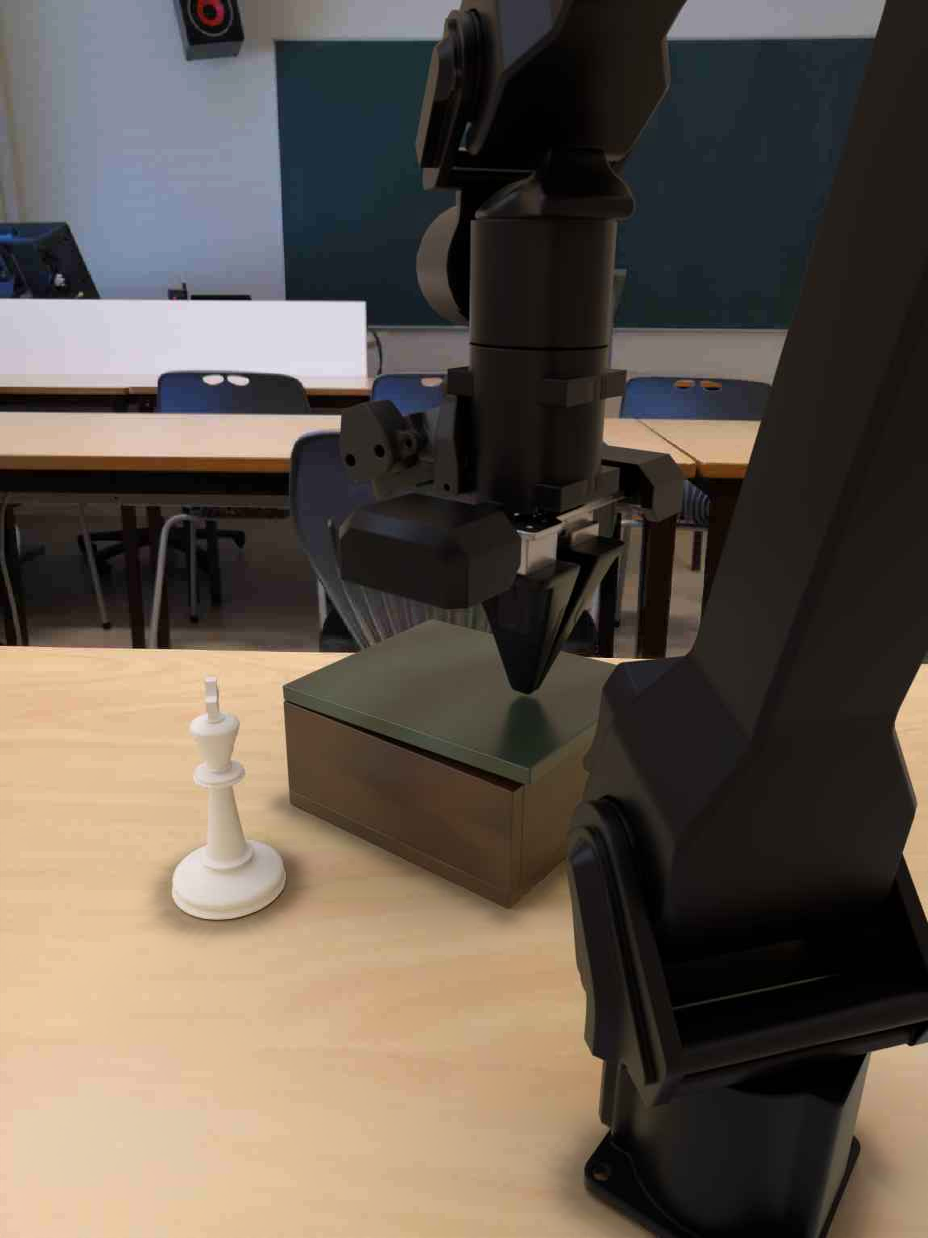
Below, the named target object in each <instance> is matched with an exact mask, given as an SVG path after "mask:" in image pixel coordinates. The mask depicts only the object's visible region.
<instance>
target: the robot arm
mask: <svg viewBox="0 0 928 1238" xmlns="http://www.w3.org/2000/svg"><path fill="white" fill-rule="evenodd" d="M884 1H885V2H884V6H883V9H882V14H881V17H880V20H879V23H878V27H877V29H876V33H875V37H874V40H873V43H872V46H871V50H870V53H869V57H868V60H867V64H866V66H865V71H864V73H863V77H862V80H861V84H860V87H859V89H858V94H857V97H856V101H855V104H854V107H853V111H852V114H851V118H850V121H849V124H848V128H847V131H846V134H845V137H844V141H843V144H842V147H841V151H840V154H839V158H838V160H837V161H838V162H837V165H836V168H835V171H834V175H833V178H832V181H831V184H830V187H829V190H828V194H827V198H826V202H825V204H824V207H823V208H824V209H823V212H822V214H821V218H820V222H819V225H818V228H817V232H816V234H815V237H814V242H813V245H812V248H811V252H810V254H809V258H808V262H807V265H806V268H805V271H804V275H803V278H802V282H801V285H800V288H799V292H798V294H797V298H796V302H795V305H794V308H793V313H792V315H791V318H790V322H789V326H788V329H787V332H786V335H785V339H784V342H783V345H782V349H781V353H780V356H779V359H778V362H777V365H776V368H775V372H774V376H773V380H772V382H771V385H770V389H769V393H768V396H767V399H766V403H765V405H764V409H763V413H762V416H761V420H760V423H759V427H758V430H757V433H756V436H755V439H754V443H753V446H752V449H751V453H750V457H749V459H748V463H747V467H746V469H745V473H744V476H743V480H742V483H741V486H740V489H739V493H738V497H737V500H736V502H735V506H734V510H733V513H732V517H731V520H730V524H729V526H728V531H727V533H726V536H725V539H724V544H723V547H722V550H721V554H720V557H719V560H718V563H717V567H716V570H715V573H714V577H713V581H712V584H711V588H710V590H709V594H708V598H707V600H706V604H705V607H704V611H703V614H702V618H701V620H700V624H699V628H698V631H697V635H696V637H695V640H694V642H693V645H692V647H691V649H690V650H689V651H688V652H687V653H686V654H685V655H680V656H669V657H659V658H653V659H652V658H649V659H639V660H629V661H622V662H618V664H616V665H617V666H616V668H615V669H614V671H613V672H612V674H611V675H610V677H609V678H608V680H607V681H606V683H605V684H604V686H603V688H602V694H601V702H600V710H599V717H598V723H597V729H596V734H595V737H594V740H593V742H592V745H591V748H590V749H589V751H588V752H587V754H586V755H585V756H584V758H583V766H584V769H585V770H586V771H588V772H589V773H590V775H589V777H588V780H587V782H586V786H585V789H584V793H583V798H582V802H580V803H579V804H578V805H577V806H576V808H575V810H574V813H573V816H572V821H571V828H570V831H569V832H568V833H567V848H568V855H567V858H566V860H565V872H566V879H567V883H568V889H569V890H568V891H569V894H570V901H571V913H572V914H571V915H572V925H573V940H574V952H575V962H576V966H577V967H576V968H577V971H578V973H579V978H580V983H581V986H582V989H583V991H584V992H585V998H586V999H585V1021H584V1032H583V1040H584V1042H585V1043H586V1046H587V1048H588V1050H589V1051H590V1054H591V1056H592V1057H595V1058H598V1059H599V1060H602V1066H601V1067H602V1068H601V1079H600V1093H599V1103H598V1117H599V1120H600V1123H601V1124H602V1125H604V1126H605V1127H606V1128H609V1130H608V1131H607V1133H606V1134H605V1135H604V1136H603V1139H602V1140H601V1141H600V1142H599V1144H598V1145H597V1147H596V1148H595V1150H594V1151H593V1153H592V1154H591V1155H590V1157H589V1158H588V1160H587V1161H586V1163H585V1165H584V1168H583V1178H582V1179H583V1185H584V1187H585V1189H586V1191H588V1193H590V1194H591V1195H592V1196H594V1197H596V1198H597V1199H599V1200H600V1201H602V1202H603V1203H605V1204H606V1205H608V1206H610V1207H611V1208H612V1209H614V1210H615V1211H617V1212H618V1213H620V1214H622V1215H623V1216H625V1217H626V1218H628V1219H629V1220H631V1221H633V1222H634V1223H635V1224H637V1225H638V1226H640V1227H642V1228H643V1229H645V1230H646V1231H648V1232H649V1233H650V1234H652V1235H654V1236H656V1237H657V1238H828V1237H829V1234H830V1232H831V1229H832V1227H833V1224H834V1222H835V1220H836V1217H837V1215H838V1212H839V1209H840V1207H841V1205H842V1203H843V1200H844V1198H845V1195H846V1192H847V1191H848V1187H849V1184H850V1182H851V1179H852V1177H853V1175H854V1172H855V1170H856V1167H857V1165H858V1162H859V1160H860V1159H859V1158H860V1154H861V1147H862V1146H861V1143H860V1141H859V1139H858V1138H857V1136H856V1135H855V1134H854V1133H855V1129H856V1125H857V1124H856V1123H857V1119H858V1115H859V1110H860V1106H861V1102H862V1097H863V1092H864V1089H865V1088H864V1087H865V1083H866V1078H867V1074H868V1069H869V1066H870V1060H871V1056H872V1053H873V1052H877V1051H881V1050H886V1049H890V1048H894V1047H898V1046H902V1045H903V1046H904V1045H907V1046H908V1047H915V1046H918V1045H923V1044H927V1043H928V919H927V916H926V913H925V910H924V907H923V905H922V903H921V899H920V897H919V894H918V890H917V888H916V886H915V883H914V881H913V877H912V875H911V872H910V869H909V867H908V863H907V861H906V858H905V855H904V850H905V847H906V844H907V842H908V841H907V840H908V838H909V835H910V832H911V829H912V826H913V824H914V820H915V817H916V813H917V808H918V798H917V796H916V793H915V789H914V785H913V783H912V779H911V776H910V773H909V772H910V771H909V768H908V765H907V762H906V760H905V756H904V752H903V749H902V746H901V743H900V738H899V735H898V733H897V728H896V720H897V717H898V714H899V712H900V710H901V707H902V705H903V703H904V701H905V699H906V697H907V695H908V693H909V691H910V689H911V686H913V685H912V684H913V682H914V681H915V678H916V676H917V674H918V673H919V670H920V668H921V666H922V665H923V663H924V660H925V658H926V656H927V654H928V0H884ZM687 2H688V0H461V2H460V6H459V8H458V9H451V10H450V11H449V14H448V16H447V17H446V18H445V19H444V24H443V32H442V38H441V39H440V40H439V42H437V44H436V45H435V46H434V47H433V50H432V54H431V58H430V63H429V70H428V75H427V80H426V85H425V91H424V96H423V102H422V107H421V111H420V117H419V122H418V128H417V129H418V130H417V134H416V140H415V143H414V147H415V152H416V156H417V157H416V158H417V161H418V167H419V168H420V169H423V172H422V187H423V190H424V191H442V192H443V191H444V192H445V191H447V192H455V205H454V206H451V207H450V208H448V209H447V210H445V211H443V212H442V213H440V214H439V215H438V216H437V217H436V218H435V219H434V220H433V221H432V222H431V223H430V225H429V226H428V228H427V229H426V231H425V233H424V235H423V236H422V238H421V241H420V244H419V248H418V251H417V253H416V262H415V269H416V275H417V276H416V277H417V282H418V285H419V288H420V290H421V293H422V294H423V295H422V296H423V297H424V299H425V300H426V301H427V303H428V305H429V306H430V307H431V309H433V310H434V311H435V312H436V313H437V314H438V315H439V316H440V317H442V318H444V319H446V320H447V321H449V322H451V323H453V324H457V325H460V326H464V327H468V328H469V329H468V332H469V333H468V342H469V343H468V365H466V366H457V367H450V368H447V371H446V372H447V374H446V375H445V376H444V377H443V379H442V382H441V401H440V405H439V406H436V407H431V408H429V409H426V410H422V411H418V412H413V413H408V414H405V415H403V414H402V412H401V411H400V410H399V408H398V407H397V406H396V405H395V403H394V402H393V401H392V400H391V399H389V398H386V399H380V400H379V399H378V400H372V401H365V402H361V403H358V404H355V405H353V406H350V407H348V408H344V409H342V410H341V412H340V428H339V429H340V430H339V433H340V434H339V453H340V456H341V459H342V464H343V467H344V469H345V473H346V475H347V477H348V478H349V479H351V480H352V481H353V482H355V483H357V484H358V483H362V482H367V481H370V482H371V485H372V489H373V492H374V496H375V499H376V500H380V499H384V498H389V497H391V496H393V494H394V492H395V491H398V490H400V489H404V488H409V487H413V488H414V489H416V490H417V489H420V488H424V487H428V486H432V485H433V492H435V493H440V494H445V495H449V496H460V495H466V496H471V503H467V502H463V501H457V500H452V499H447V498H442V497H437V496H432V495H428V494H427V495H426V494H421V493H416V492H411V493H407V494H403V495H399V496H396V497H393V498H389V499H386V500H382V501H378V502H375V503H372V504H369V505H364V506H361V507H357V508H355V509H354V510H353V511H352V513H350V515H349V516H348V517H347V518H346V519H345V520H344V522H343V523H342V524H341V525H340V526H339V527H338V540H339V541H338V542H339V565H340V566H339V568H340V570H339V571H340V580H341V581H343V582H346V583H350V584H352V585H353V584H354V585H357V586H361V587H364V588H368V589H370V590H376V591H378V592H381V593H386V594H389V595H393V596H397V597H399V598H403V599H408V600H411V601H414V602H417V603H420V604H425V605H427V606H432V607H435V608H439V609H442V610H462V609H469V608H472V607H474V606H476V605H478V604H480V605H481V607H482V609H483V612H484V614H485V615H486V618H487V622H488V624H489V627H490V630H491V634H493V636H494V639H495V642H496V645H497V648H498V651H499V654H500V657H501V660H502V663H503V666H504V668H505V671H506V674H507V677H508V680H509V683H510V686H511V688H512V689H513V690H515V691H518V692H521V693H524V694H531V693H533V692H534V691H536V690H537V689H539V688H540V686H541V684H542V683H543V681H544V679H545V677H546V676H547V674H548V672H549V670H550V668H551V667H552V665H553V663H554V661H555V659H556V658H557V656H558V654H559V652H560V651H562V649H563V648H564V645H565V643H566V642H567V640H568V638H569V636H570V634H571V633H572V631H573V629H574V627H575V625H576V624H577V623H578V620H579V619H580V617H581V616H582V613H583V612H584V610H585V609H586V607H587V605H588V603H589V602H590V600H591V598H592V597H593V596H594V594H595V592H596V590H597V589H598V587H599V586H600V584H601V583H602V580H603V579H604V577H605V576H606V574H607V572H608V571H609V570H610V568H611V566H612V564H613V563H614V561H615V560H616V559H617V558H618V556H620V555H622V554H623V553H624V549H625V546H626V543H625V541H623V540H622V539H617V538H613V537H608V536H602V535H599V528H600V527H599V526H600V522H599V521H598V520H594V511H595V510H597V509H600V508H602V507H605V506H607V505H610V504H613V503H615V502H616V503H622V504H627V505H633V506H640V509H641V510H642V513H643V515H644V517H645V519H646V521H650V522H656V523H659V522H662V521H663V520H665V519H668V518H670V517H672V516H674V515H676V514H679V513H682V508H683V507H682V506H683V498H684V497H683V496H684V487H685V478H686V474H685V473H684V472H683V470H682V469H681V467H680V466H679V465H678V463H677V462H676V461H675V459H674V458H673V457H672V455H671V454H670V453H667V452H659V451H651V450H645V449H638V448H630V447H624V446H616V445H607V444H604V430H605V429H604V428H605V414H606V399H612V398H615V397H616V398H617V397H621V396H625V395H626V390H627V379H628V378H627V376H628V369H620V368H609V355H610V354H609V353H610V345H609V344H610V339H611V324H612V309H613V308H612V307H613V295H614V293H613V292H614V279H615V265H616V263H615V262H616V261H615V260H616V250H617V249H616V247H617V233H618V231H617V230H618V222H617V221H618V220H619V221H620V220H628V219H630V218H631V217H632V216H633V215H634V213H635V209H636V202H635V198H634V195H633V194H632V191H631V190H630V188H629V186H628V184H627V183H625V181H623V180H622V179H621V177H620V174H622V173H621V172H622V171H623V169H624V168H625V166H626V164H627V162H628V161H629V159H630V157H631V156H632V154H633V151H634V150H635V148H636V146H637V144H638V143H639V141H640V139H641V137H642V136H643V134H644V132H645V130H646V129H647V127H648V125H649V123H650V121H651V120H652V118H653V115H654V113H655V111H656V110H657V109H658V107H659V105H660V103H661V102H662V100H663V98H664V97H665V95H666V93H667V92H668V90H669V88H670V86H671V70H670V58H669V47H668V34H669V33H670V31H671V29H672V27H673V26H674V24H675V22H676V20H677V18H678V17H679V15H680V13H681V11H682V10H683V8H684V7H685V5H686V3H687ZM465 132H466V133H465ZM464 134H465V141H464V147H463V146H462V147H461V143H462V140H463V137H464ZM596 1175H602V1176H604V1177H605V1179H601V1178H600V1179H599V1178H597V1177H596Z"/></svg>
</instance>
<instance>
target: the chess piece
mask: <svg viewBox="0 0 928 1238" xmlns="http://www.w3.org/2000/svg"><path fill="white" fill-rule="evenodd" d="M204 688H205V701H204V705H205V706H204V707H205V713H203V714H200V715H199V716H197V717H195V718H193V720H192V721H191V722H190V724H189V732H190V735H191V737H192V739H193V741H194V742H195V743H196V746H197V748H198V750H199V753H200V755H201V756H202V758H203V760H204V762H202V763H201V764H199V765H198V766H197V767H196V768H195V769H194V773H193V776H192V777H193V778H192V779H193V782H194V784H196V785H197V787H200V788H203V789H208V816H207V817H208V818H207V819H208V820H207V838H206V845H203V846H202V847H201V846H200V848H197V849H196V850H194V851H192V852H191V853H189V854H188V855H186V856H185V857H184V858H183V859H182V860H181V861H180V863H178V865H177V866H176V868H175V870H174V872H173V874H172V887H171V896H172V900H173V901H174V903H175V905H176V906H177V907H178V908H179V909H180V910H181V911H183V912H184V913H186V914H188V915H191V916H193V917H196V918H198V919H199V918H200V919H204V920H205V919H206V920H230V919H237V918H240V917H244V916H248V915H251V914H253V913H255V912H257V911H260V910H262V909H263V908H265V907H266V906H268V905H269V904H271V903H272V902H273V901H274V900H275V899H277V897H278V896H279V895H280V894H281V892H282V891H283V889H284V887H285V885H286V881H287V872H286V870H285V869H286V868H285V867H284V861H283V858H282V856H281V855H280V854H279V852H278V851H277V850H275V848H273V847H272V846H270V845H268V844H267V843H264V842H261V841H257V840H254V839H253V840H252V839H247V838H245V835H244V831H243V827H242V822H241V819H240V815H239V810H238V807H237V802H236V796H235V791H234V786H235V785H237V784H238V783H240V782H241V781H242V780H243V779H244V778H245V775H246V770H245V769H246V768H244V765H243V764H242V762H240V761H238V760H236V759H233V758H232V756H233V753H234V748H235V744H236V740H237V736H238V734H239V729H240V723H241V722H240V719H239V718H238V716H237V715H235V714H233V713H231V712H226V711H220V702H219V701H220V700H219V699H220V688H219V684H218V681H217V676H211V677H210V676H209V677H205V678H204Z"/></svg>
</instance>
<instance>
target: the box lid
mask: <svg viewBox="0 0 928 1238" xmlns="http://www.w3.org/2000/svg"><path fill="white" fill-rule="evenodd" d="M617 665H618V664H616V663H611V662H607V661H603V660H599V659H595V658H590V657H587V656H583V655H578V654H575V653H571V652H566V651H563V650H561V651H560V652H559V654H558V656H557V658H556V659H555V661H554V663H553V665H552V667H551V668H550V670H549V672H548V674H547V676H546V677H545V679H544V681H543V683H542V684H541V686H540V688H539V689H537V690H536V691H534V692H533V693H531V694H524V693H521V692H518V691H515V690H513V689H512V688H511V686H510V683H509V680H508V677H507V674H506V671H505V668H504V666H503V663H502V660H501V657H500V654H499V651H498V648H497V645H496V642H495V639H494V636H493V633H490V632H487V631H483V630H482V631H481V630H478V629H474V628H469V627H466V626H462V625H457V624H454V623H450V622H446V621H441V620H438V619H433V618H430V619H428V620H426V621H424V622H422V623H419V624H417V625H415V626H413V627H410V628H408V629H405V630H404V631H401V632H399V633H396V634H395V635H393V636H390V637H388V638H385V639H383V640H381V641H379V642H377V643H374V644H372V645H370V646H367V647H365V648H364V649H361V650H359V651H357V652H353V653H352V654H350V655H348V656H345V657H343V658H341V659H338V660H337V661H334V662H332V663H330V664H328V665H325V666H323V667H321V668H318V669H316V670H314V671H312V672H310V673H308V674H305V675H303V676H300V677H298V678H296V679H293V680H292V681H289V682H287V683H284V684H283V685H282V695H283V701H285V700H286V701H289V702H292V703H295V704H298V705H301V706H303V707H306V708H309V709H312V710H315V711H318V712H321V713H323V714H326V715H329V716H332V717H335V718H338V719H340V720H343V721H346V722H349V723H352V724H355V725H358V726H360V727H363V728H366V729H369V730H372V731H375V732H378V733H380V734H383V735H386V736H389V737H392V738H395V739H397V740H400V741H403V742H406V743H409V744H412V745H415V746H417V747H420V748H423V749H426V750H429V751H432V752H434V753H437V754H440V755H443V756H446V757H449V758H452V759H454V760H457V761H460V762H463V763H466V764H469V765H472V766H474V767H477V768H480V769H483V770H486V771H489V772H491V773H494V774H497V775H500V776H503V777H506V778H509V779H511V780H514V781H517V782H520V783H523V784H526V785H529V786H530V785H532V784H533V783H535V782H536V781H537V780H538V779H540V778H541V777H542V776H544V775H545V774H546V773H548V772H549V771H550V770H552V769H553V768H554V767H556V766H557V765H558V764H560V763H561V762H562V761H564V760H565V759H566V758H568V757H569V756H570V755H572V754H573V753H574V752H576V751H577V750H578V749H580V748H581V747H582V746H583V745H585V744H586V743H587V742H589V741H590V740H591V739H593V738H594V737H595V734H596V729H597V723H598V717H599V710H600V702H601V694H602V688H603V686H604V684H605V683H606V681H607V680H608V678H609V677H610V675H611V674H612V672H613V671H614V669H615V668H616V666H617Z"/></svg>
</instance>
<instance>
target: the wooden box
mask: <svg viewBox="0 0 928 1238" xmlns="http://www.w3.org/2000/svg"><path fill="white" fill-rule="evenodd" d="M283 716H284V717H283V718H284V719H283V720H284V733H285V745H286V746H285V749H286V763H287V780H288V789H289V790H288V795H289V803H290V804H291V805H293V806H295V807H298V808H300V809H302V810H303V811H306V812H308V813H310V814H312V815H314V816H317V817H318V818H321V819H322V820H325V821H327V822H328V823H330V824H332V825H335V826H337V827H339V828H342V829H343V830H346V831H348V832H349V833H352V834H353V835H356V836H358V837H360V838H362V839H364V840H366V841H368V842H370V843H372V844H374V845H377V846H378V847H380V848H383V849H384V850H386V851H389V852H391V853H393V854H395V855H397V856H400V857H401V858H403V859H405V860H407V861H410V862H412V863H414V864H416V865H418V866H420V867H422V868H424V869H426V870H428V871H430V872H432V873H434V874H436V875H439V876H441V877H443V878H444V879H447V880H448V881H451V882H453V883H454V884H457V885H459V886H461V887H464V888H465V889H467V890H470V891H472V892H473V893H476V894H478V895H480V896H482V897H483V898H486V899H489V900H490V901H492V902H494V903H497V904H499V905H500V906H503V907H505V908H507V909H510V908H511V907H512V906H513V905H515V904H516V903H517V902H518V901H519V900H520V899H521V898H522V897H523V896H524V895H525V894H526V893H528V891H530V890H531V889H532V888H533V887H534V886H535V885H536V884H537V883H539V882H540V881H541V880H542V879H543V878H544V877H545V876H547V874H549V873H550V872H551V871H552V870H553V869H554V868H555V867H557V865H558V864H560V863H561V862H562V861H563V860H564V859H565V858H566V857H568V848H567V833H568V832H569V831H570V828H571V821H572V816H573V813H574V810H575V808H576V806H577V805H578V804H579V803H580V802H582V798H583V793H584V789H585V786H586V782H587V780H588V777H589V775H590V773H589V772H588V771H586V770H585V769H584V766H583V758H584V756H585V755H586V754H587V752H588V751H589V749H590V748H591V745H592V742H593V740H594V738H593V739H591V740H590V741H589V742H587V743H586V744H585V745H583V746H582V747H581V748H580V749H578V750H577V751H576V752H574V753H573V754H572V755H570V756H569V757H568V758H566V759H565V760H564V761H562V762H561V763H560V764H558V765H557V766H556V767H554V768H553V769H552V770H550V771H549V772H548V773H546V774H545V775H544V776H542V777H541V778H540V779H538V780H537V781H536V782H535V783H533V784H532V785H530V786H529V785H526V784H523V783H520V782H517V781H514V780H511V779H509V778H506V777H503V776H500V775H497V774H494V773H491V772H489V771H486V770H483V769H480V768H477V767H474V766H472V765H469V764H466V763H463V762H460V761H457V760H454V759H452V758H449V757H446V756H443V755H440V754H437V753H434V752H432V751H429V750H426V749H423V748H420V747H417V746H415V745H412V744H409V743H406V742H403V741H400V740H397V739H395V738H392V737H389V736H386V735H383V734H380V733H378V732H375V731H372V730H369V729H366V728H363V727H360V726H358V725H355V724H352V723H349V722H346V721H343V720H340V719H338V718H335V717H332V716H329V715H326V714H323V713H321V712H318V711H315V710H312V709H309V708H306V707H303V706H301V705H298V704H295V703H292V702H289V701H286V700H283Z"/></svg>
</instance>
